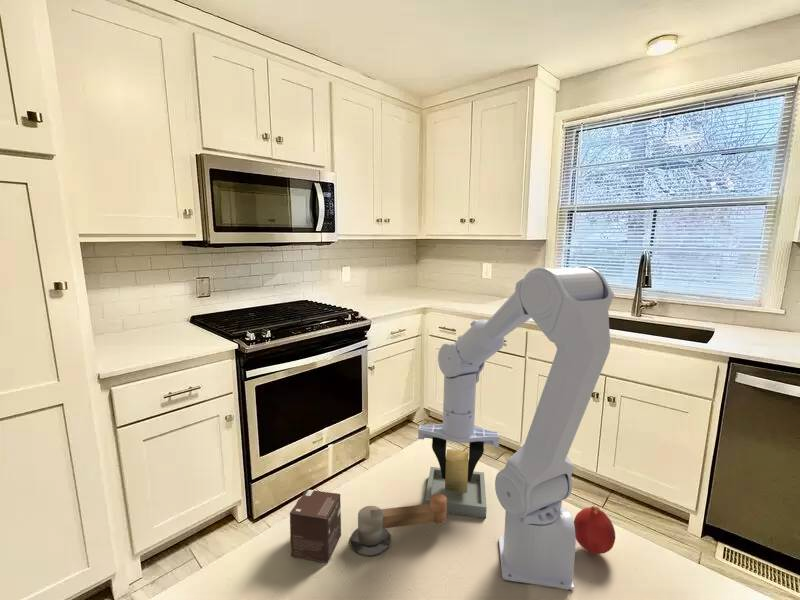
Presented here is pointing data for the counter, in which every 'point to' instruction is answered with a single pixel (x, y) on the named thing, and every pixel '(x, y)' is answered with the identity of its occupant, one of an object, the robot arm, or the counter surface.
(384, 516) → the crank
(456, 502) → the tray
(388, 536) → the crank base
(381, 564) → the counter surface
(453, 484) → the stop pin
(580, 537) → the onion
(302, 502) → the box
